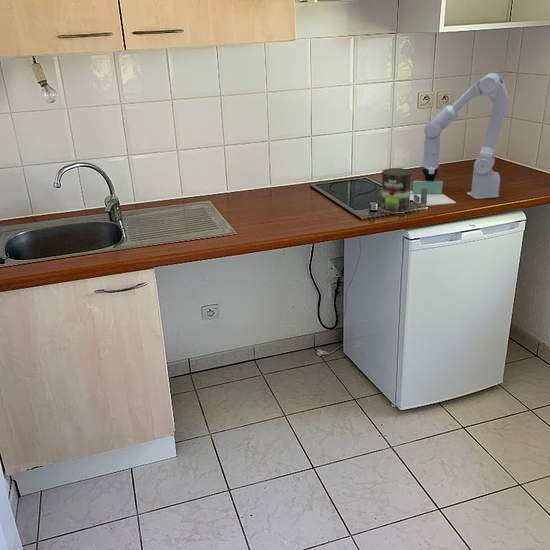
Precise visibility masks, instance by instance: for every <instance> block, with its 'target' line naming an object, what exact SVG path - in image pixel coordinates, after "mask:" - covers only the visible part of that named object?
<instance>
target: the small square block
mask: <svg viewBox="0 0 550 550" xmlns="http://www.w3.org/2000/svg"><path fill="white" fill-rule="evenodd" d="M427 190H428V189H426V188H422V190H421V204H423V205H425V204H426V203H427ZM419 200H420V197H419V196H417V195H414V201H416V202H417V203H418V202H419Z"/></svg>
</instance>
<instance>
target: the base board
mask: <svg viewBox="0 0 550 550" xmlns="http://www.w3.org/2000/svg"><path fill="white" fill-rule="evenodd" d="M412 191H413V190H411V191H410V200H413V201H414V195H417V196H419V197H420V200H419V202H418V203H421V193H412ZM452 204H457V202H456V201H455V200H453V199H451V198H449V197H448V196H447V195H445V194H444V193H442V194H433V193H427V203H426V204H425V205H426V206H425V207H428V206H429V207H432V206H440V205H441V206H442V205H452Z"/></svg>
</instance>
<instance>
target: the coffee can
mask: <svg viewBox="0 0 550 550" xmlns="http://www.w3.org/2000/svg"><path fill="white" fill-rule="evenodd" d="M381 174H382V176H381V177H382V178H381V179H382V181H381V197H380V198H381V199H380V200H381V201H380V209H381V208H382V209H383V210H386V211H390V212H398V213H403V214H405V213H404V212H405V211H407V210H408V209H409V210H410V204H411V202H410V191H412V189H411V188H412V180H411V177H412V175H413V171H412V170H410V169H407V168H399V167H392V168H385V169H383V170H382V172H381Z"/></svg>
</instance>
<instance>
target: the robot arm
mask: <svg viewBox="0 0 550 550" xmlns="http://www.w3.org/2000/svg"><path fill="white" fill-rule="evenodd" d="M482 94H484V95H486V96H487V97H489V99H490V100H491V101H490V102H491V103H493V106H492V110H491V113H490V117H489V120H488V124H487V128H486V131H485V135H484V138H483V142H482V146H481V149H480V152H479V154H478V156H477V159H476V160H475V161H474V163H473V171H472V180H471V181H472V182H471V191H467V192H466V194H467V195H468V196H470V197H472V198H473V199H476V200H480V199H490V198H491V199H492V198H500V195H499V191H500V184H501V176H500V174H499V172H497V171H494V170H493V166H494V165H495V161H496V158H495V153H496V146H497V144H498V140H499V136H500V133H501V131H502V130H501V129H502V126H503V123H504V119H505V115H506V112H507V108H508V105H509V100H510V98H509V97H510V96H509V94H508V92H507V89H506V85H505V81H504V79H503V78H502V77H501V76H500V74H498V73H496V72H490V73H488V74H486V75H485V76H483V77H481V79H479V80H478V81H476V82H474V84H472V85H471V86H469V88H468V89H467V90H466V91H465V92H464V93H463V94H462V95H461V96H460V97H459V98H458V99H457V100H456V101H455V102H454V103H453V104H452V105H446V106H442V107H441V108H440V111H439V112H438V114H437V115H435V116H433V117H431V121H429V122H428V123H427V124H426V125H425V127H424V130H423V132H424V135H425V137H424V147H423V158H422V160H423V161H422V163H420V164H419V167H420V168H422V173H423V175H424V179H425V180H424V181H435V178H436V176H437V174H439V171H438V168H439V165H440V164H439V161H440V146H441V133H442V132H443V130H444V129H446V128H447V127H448V126H449V125H450V124H452V122H454V121H455V120H456V119H457V118H458V113H459V111H460V110H461V109H462V108H463V107H464V106H466V105H467V104H468V103H469V102H470V101H471V100H472V99H473V98H474V97H477V96H478V97H479V96H481V95H482Z"/></svg>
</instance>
